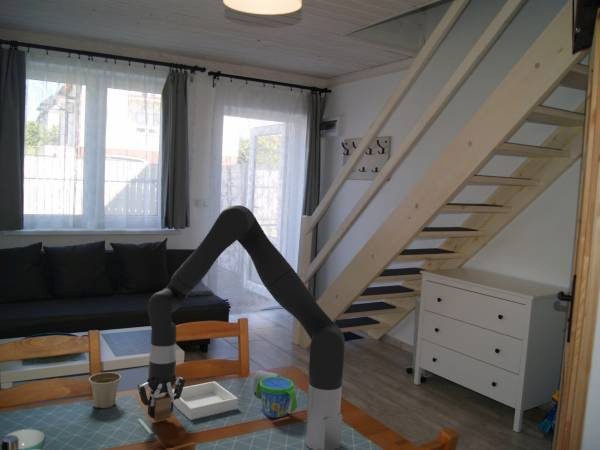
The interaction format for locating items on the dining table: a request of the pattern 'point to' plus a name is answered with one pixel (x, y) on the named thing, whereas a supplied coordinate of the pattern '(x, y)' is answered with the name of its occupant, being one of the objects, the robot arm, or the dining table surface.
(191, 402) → the white bin
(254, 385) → the ceramic mug
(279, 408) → the snack cup
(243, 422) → the dining table surface
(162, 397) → the walnut block
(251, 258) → the robot arm
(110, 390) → the flower pot
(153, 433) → the sage mat
